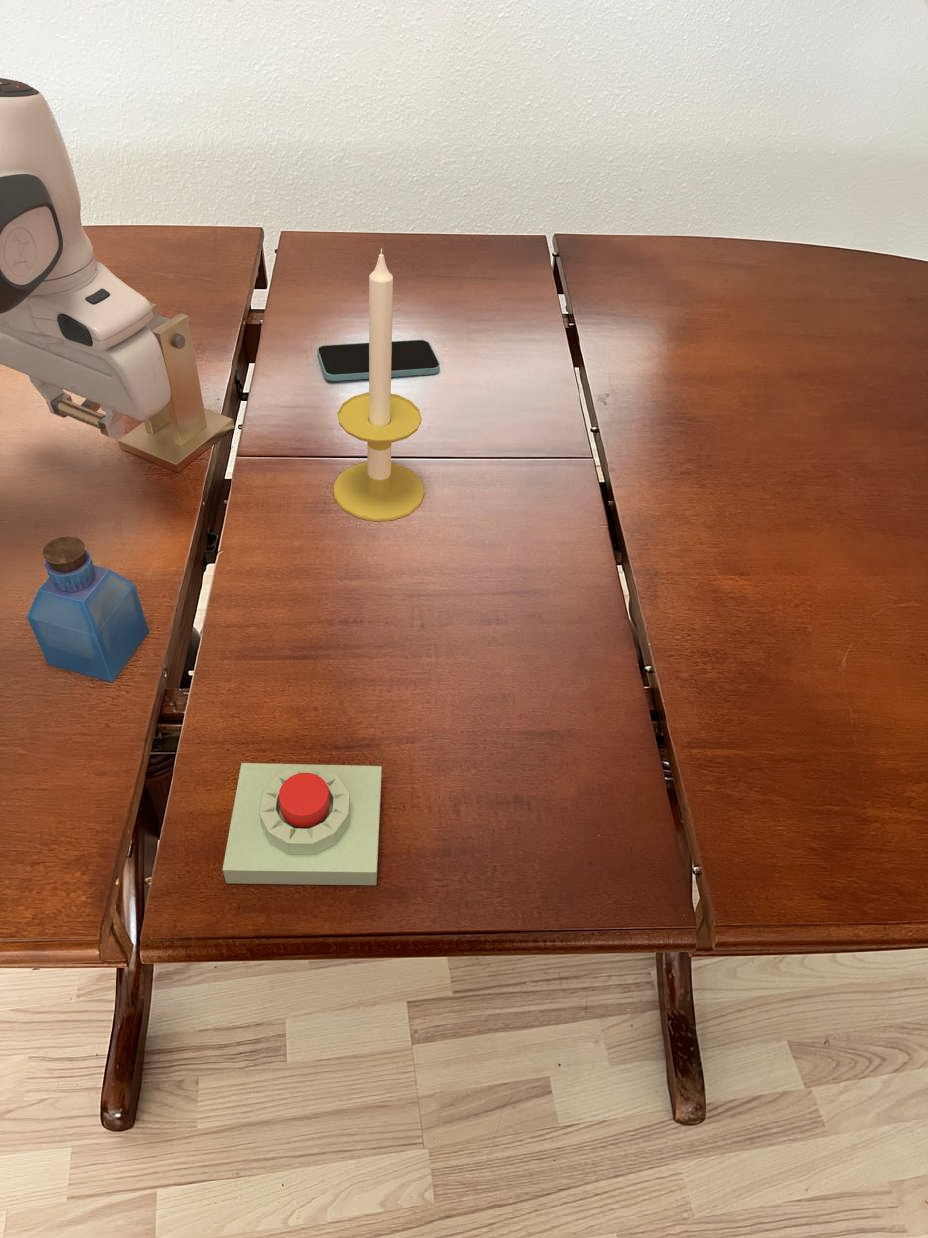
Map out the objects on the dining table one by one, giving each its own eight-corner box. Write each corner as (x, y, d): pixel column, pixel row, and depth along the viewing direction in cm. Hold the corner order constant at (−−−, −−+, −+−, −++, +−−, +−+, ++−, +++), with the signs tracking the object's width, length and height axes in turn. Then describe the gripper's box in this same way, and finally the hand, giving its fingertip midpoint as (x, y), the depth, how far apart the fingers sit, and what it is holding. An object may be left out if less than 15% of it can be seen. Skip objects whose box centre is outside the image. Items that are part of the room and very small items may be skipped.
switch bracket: (178, 473, 93) (152, 350, 82) (120, 448, 95) (87, 326, 84) (234, 427, 100) (217, 308, 89) (179, 405, 102) (155, 286, 91)
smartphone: (442, 368, 110) (325, 375, 106) (441, 375, 111) (326, 383, 107) (427, 338, 115) (315, 345, 111) (427, 346, 115) (315, 352, 111)
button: (277, 827, 62) (275, 815, 61) (283, 784, 65) (281, 771, 63) (327, 828, 62) (326, 816, 61) (331, 785, 65) (330, 772, 64)
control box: (225, 883, 63) (218, 858, 60) (244, 777, 69) (238, 749, 66) (376, 885, 64) (376, 861, 61) (381, 780, 70) (382, 753, 67)
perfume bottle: (47, 664, 75) (4, 566, 66) (87, 614, 79) (51, 516, 70) (112, 682, 74) (77, 585, 65) (148, 631, 78) (120, 534, 69)
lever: (103, 436, 83) (93, 419, 81) (64, 419, 84) (52, 402, 82) (189, 340, 89) (181, 322, 87) (150, 326, 90) (142, 308, 88)
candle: (347, 529, 90) (341, 281, 70) (322, 471, 96) (309, 228, 76) (437, 511, 93) (455, 269, 73) (407, 456, 99) (416, 218, 79)
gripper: (-71, 270, 74) (-17, 405, 85) (114, 340, 69) (148, 475, 80) (-14, 243, 78) (32, 375, 89) (166, 307, 73) (192, 440, 83)
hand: (88, 423), depth 84 cm, fingers closed on lever, 5 cm apart
